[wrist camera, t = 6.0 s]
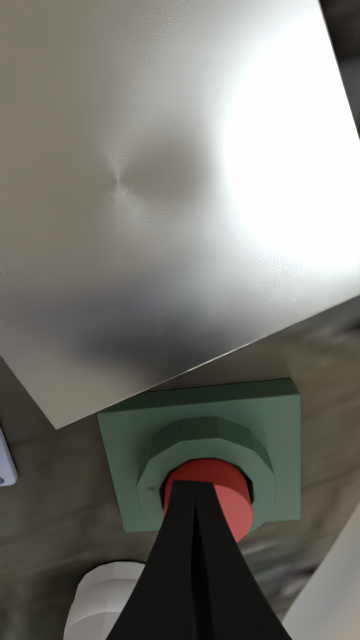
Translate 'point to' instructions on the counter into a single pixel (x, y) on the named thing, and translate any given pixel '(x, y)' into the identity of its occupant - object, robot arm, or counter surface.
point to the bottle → (101, 600)
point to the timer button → (219, 490)
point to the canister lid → (166, 188)
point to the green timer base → (206, 446)
